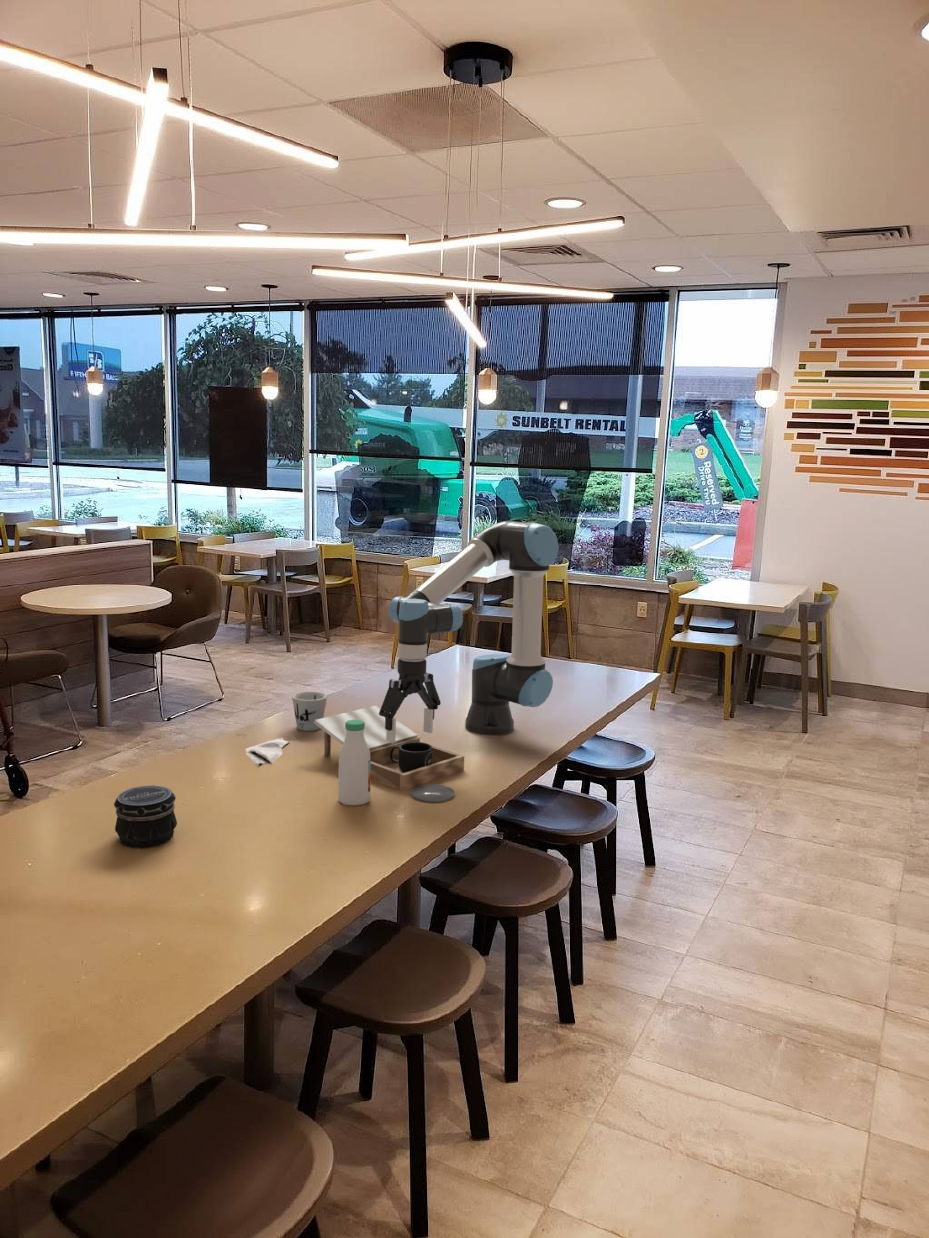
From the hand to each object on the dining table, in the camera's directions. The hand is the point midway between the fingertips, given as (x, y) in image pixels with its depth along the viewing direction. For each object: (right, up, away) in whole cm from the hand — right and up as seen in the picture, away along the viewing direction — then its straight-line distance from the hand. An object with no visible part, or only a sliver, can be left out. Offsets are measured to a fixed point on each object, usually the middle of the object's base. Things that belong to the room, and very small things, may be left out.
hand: (409, 736), depth 247 cm
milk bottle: (-12, -13, -20) cm, 27 cm away
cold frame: (-6, -8, +8) cm, 13 cm away
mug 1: (-32, -2, +40) cm, 51 cm away
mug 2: (0, -10, +2) cm, 10 cm away
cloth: (-41, -7, +15) cm, 44 cm away
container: (-55, -17, -44) cm, 72 cm away
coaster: (+7, -13, -14) cm, 20 cm away
